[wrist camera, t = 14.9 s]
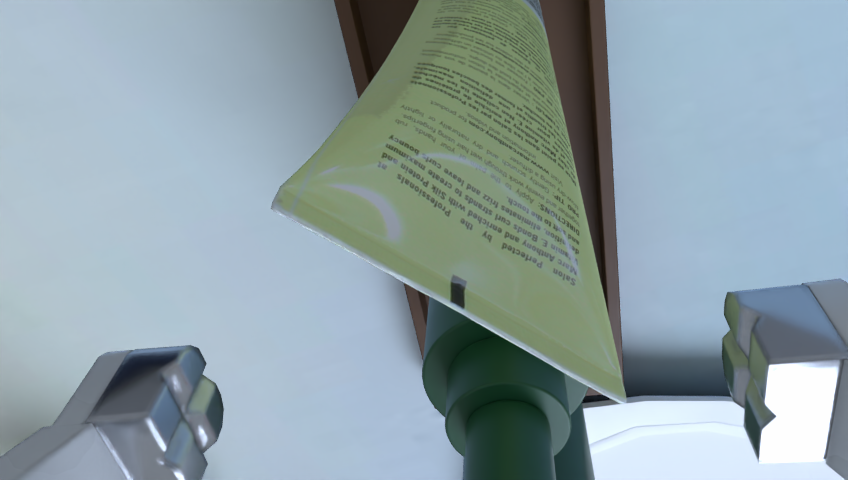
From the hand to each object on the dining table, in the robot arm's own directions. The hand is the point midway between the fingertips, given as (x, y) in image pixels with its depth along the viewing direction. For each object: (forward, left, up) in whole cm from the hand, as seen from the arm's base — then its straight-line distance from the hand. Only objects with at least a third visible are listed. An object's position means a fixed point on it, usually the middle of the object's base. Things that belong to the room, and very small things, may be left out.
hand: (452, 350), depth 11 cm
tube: (0, 0, -21) cm, 21 cm away
